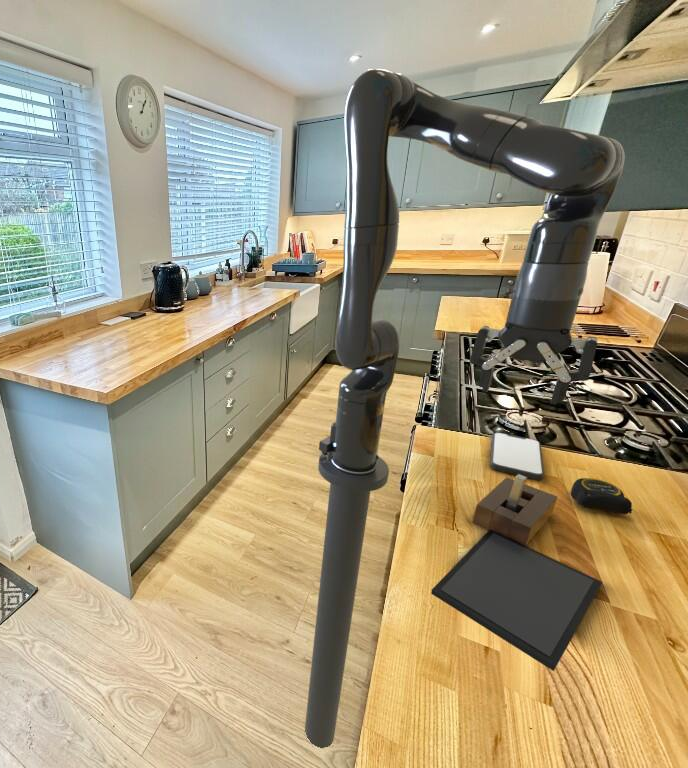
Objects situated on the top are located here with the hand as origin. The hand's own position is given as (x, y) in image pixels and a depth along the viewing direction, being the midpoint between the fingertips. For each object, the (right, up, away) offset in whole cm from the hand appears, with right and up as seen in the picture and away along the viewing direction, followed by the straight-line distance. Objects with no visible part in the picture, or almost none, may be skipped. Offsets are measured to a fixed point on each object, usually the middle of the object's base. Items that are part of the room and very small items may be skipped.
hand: (517, 396), depth 66 cm
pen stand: (+5, -22, +8) cm, 24 cm away
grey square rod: (+3, -23, +6) cm, 24 cm away
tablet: (-5, -28, -6) cm, 29 cm away
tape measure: (+22, -21, +9) cm, 32 cm away
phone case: (+20, -14, +25) cm, 35 cm away
